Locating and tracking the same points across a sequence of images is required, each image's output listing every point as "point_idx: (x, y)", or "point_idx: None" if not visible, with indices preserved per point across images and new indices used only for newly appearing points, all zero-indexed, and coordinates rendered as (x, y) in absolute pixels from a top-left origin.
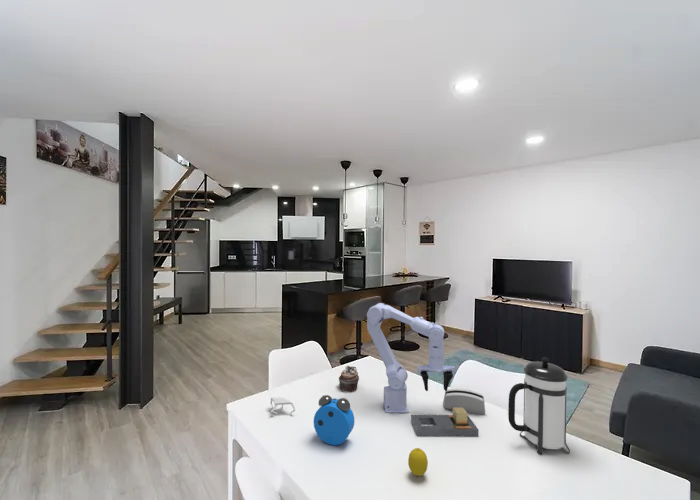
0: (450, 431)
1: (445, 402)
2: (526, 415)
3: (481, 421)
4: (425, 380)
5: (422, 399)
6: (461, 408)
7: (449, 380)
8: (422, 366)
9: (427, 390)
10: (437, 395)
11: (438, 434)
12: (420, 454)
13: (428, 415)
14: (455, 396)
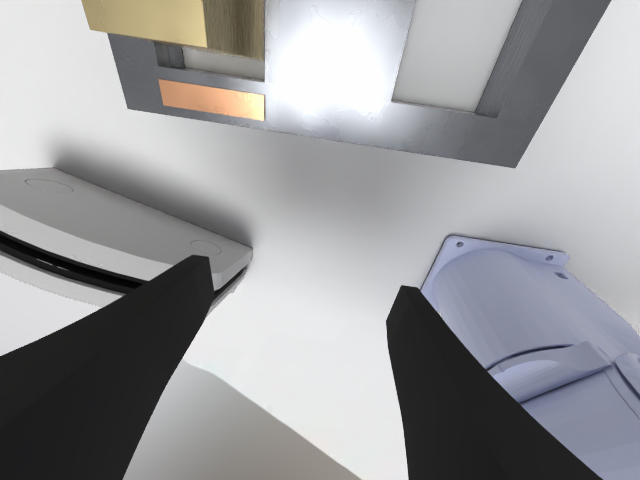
0: None
1: (234, 257)
2: None
3: (72, 94)
4: (527, 428)
5: (319, 318)
6: (110, 4)
7: (22, 357)
8: None
9: (406, 289)
10: (246, 330)
11: None
12: None
13: (402, 139)
14: (152, 254)
